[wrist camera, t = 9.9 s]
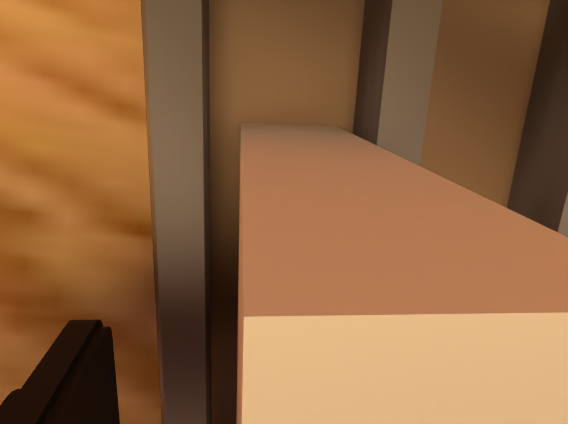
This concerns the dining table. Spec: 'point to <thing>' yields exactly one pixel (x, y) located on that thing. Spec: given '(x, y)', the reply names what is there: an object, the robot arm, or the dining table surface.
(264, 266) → the door panel
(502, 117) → the dark wooden tray
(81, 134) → the dining table surface
